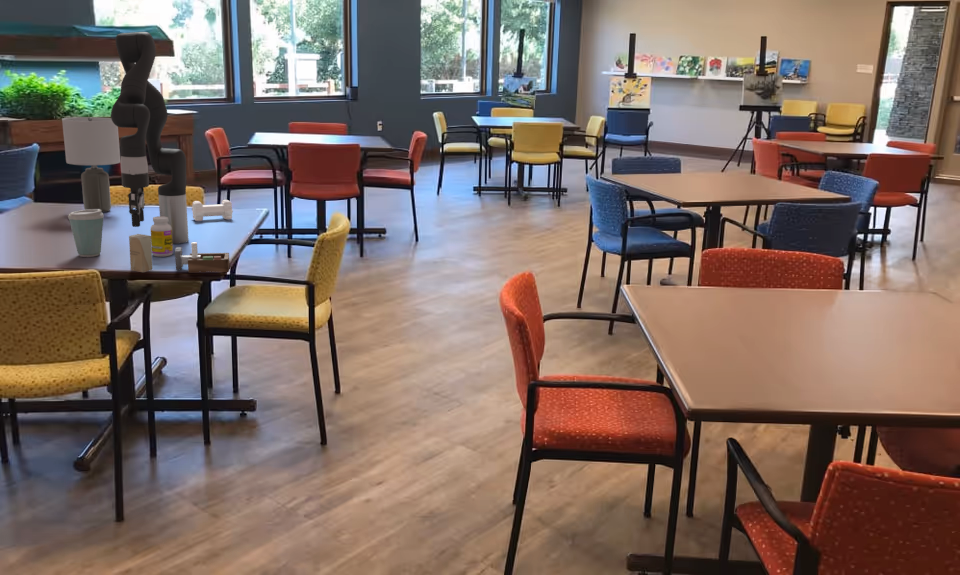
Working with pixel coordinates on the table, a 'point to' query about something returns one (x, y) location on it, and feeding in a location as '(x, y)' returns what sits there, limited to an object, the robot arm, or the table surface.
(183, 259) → the grey blocky piece
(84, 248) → the disposable coffee cup
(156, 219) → the supplement bottle
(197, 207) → the dog bone
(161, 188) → the robot arm
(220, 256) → the brown wooden open box
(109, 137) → the lamp
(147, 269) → the box
